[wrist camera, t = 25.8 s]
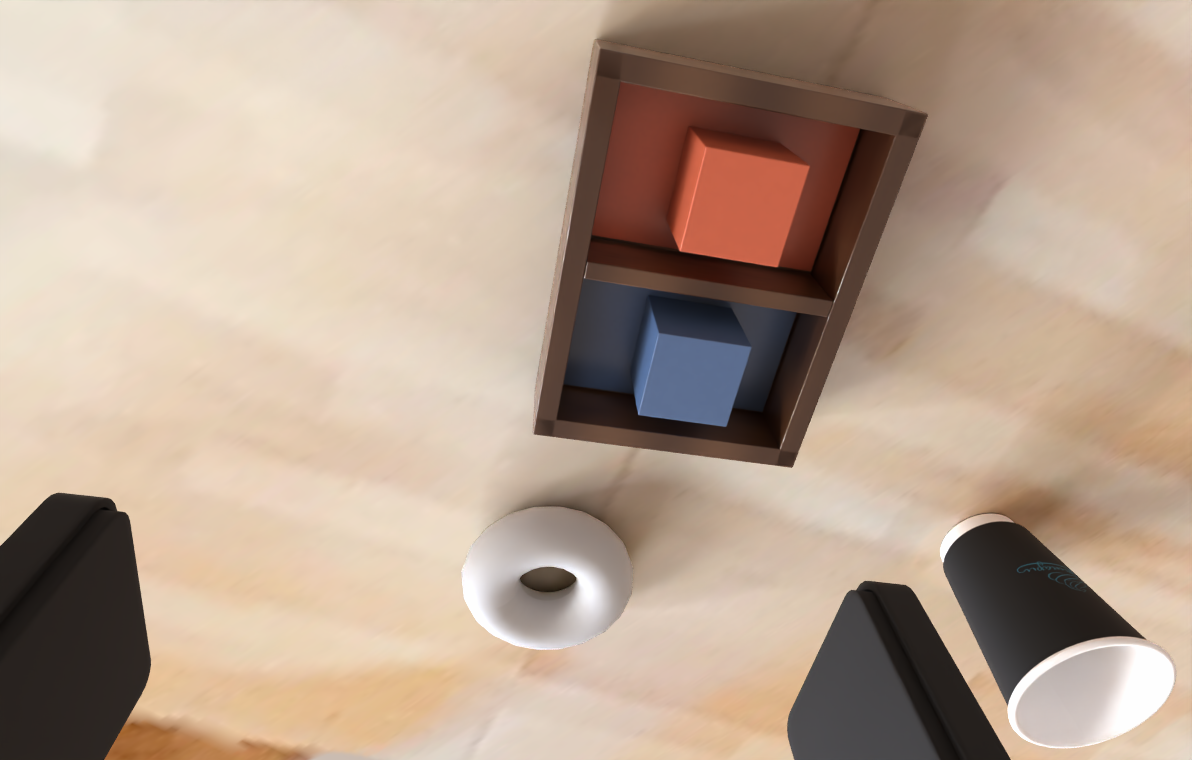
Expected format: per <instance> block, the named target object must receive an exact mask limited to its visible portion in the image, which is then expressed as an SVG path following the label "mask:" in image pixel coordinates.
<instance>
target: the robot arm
mask: <svg viewBox="0 0 1192 760" xmlns="http://www.w3.org/2000/svg"><path fill="white" fill-rule="evenodd" d="M150 667H151V658H150V651H149V645H148V638H147V631H146V625H145V618H144V611H143V605H142V598H141V591H140V585H139V578H138V571H137V565H136V558H135V551H134V545H133V538H132V531H131V525H130V520H129V516H128V515H127V514H126V513H125V512H118V511H117V509H116V506H115V503H114V502H113V501H112V500H111V499H109V498H103V497H93V496H84V495H75V494H66V493H56V494H53V495H51V496H50V497H48V498H47V499H46V500H45V501H44V502H43V503H42V504H41V505H40V506H39V507H38V508H37V509H36V510H35V511H34V512H33V513H32V514H31V515H30V516H29V517H28V518H27V519H26V520H25V521H24V522H23V523H22V524H21V525H20V526H19V527H18V529H17V530H16V531H15V532H14V533H13V534H12V535H11V536H10V537H9V538H8V539H7V540H6V541H5V542H4V543H3V544H2V545H1V546H0V760H104V759H105V757H106V755H107V754H108V752H109V750H110V748H111V747H112V745H113V743H114V741H115V740H116V738H117V736H118V734H119V733H120V731H121V729H122V727H123V726H124V724H125V722H126V721H127V719H128V717H129V715H130V714H131V712H132V710H133V708H134V707H135V705H136V703H137V701H138V700H139V698H140V696H141V694H142V692H143V690H144V688H145V686H146V683H147V681H148V677H149V673H150ZM787 731H788V739H789V743H790V746H791V750H792V753H793V756H794V760H1011V759H1010V758H1009V756H1008V754H1007V752H1006V751H1005V749H1004V747H1003V745H1002V744H1001V742H1000V740H999V738H998V737H997V735H996V733H995V732H994V730H993V728H992V726H991V725H990V723H989V721H988V719H987V718H986V716H985V714H984V712H983V711H982V709H981V707H980V706H979V704H978V702H977V700H976V699H975V697H974V695H973V693H972V692H971V690H970V688H969V687H968V685H967V683H966V681H965V680H964V678H963V676H962V674H961V673H960V671H959V669H958V667H957V666H956V664H955V662H954V661H953V659H952V657H951V655H950V654H949V652H948V650H947V648H946V647H945V645H944V643H943V641H942V640H941V638H940V636H939V635H938V633H937V631H936V629H935V628H934V626H933V624H932V622H931V621H930V619H929V617H928V615H927V614H926V612H925V610H924V609H923V607H922V605H921V603H920V602H919V600H918V598H917V596H916V595H915V593H914V592H913V591H912V589H911V588H909V587H908V586H906V585H900V584H891V583H882V582H873V581H864V582H863V583H861V584H860V585H859V587H858V588H857V590H851V591H849V592H848V593H847V594H846V596H845V598H844V600H843V602H842V604H841V606H840V608H839V610H838V612H837V614H836V617H835V619H834V621H833V623H832V625H831V627H830V629H829V631H828V633H827V636H826V638H825V640H824V642H823V644H822V646H821V648H820V650H819V652H818V654H817V657H816V659H815V661H814V663H813V665H812V667H811V669H810V671H809V673H808V675H807V678H806V680H805V682H804V684H803V686H802V688H801V690H800V692H799V694H798V696H797V699H796V701H795V703H794V705H793V707H792V709H791V711H790V714H789V717H788V726H787Z"/></svg>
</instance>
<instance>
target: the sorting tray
mask: <svg viewBox="0 0 1192 760" xmlns="http://www.w3.org/2000/svg"><path fill="white" fill-rule="evenodd" d="M927 117H928V114H927V113H924V112H921V111H919V110H916V109H914V108H911V107H908V106H906V105H903V104H901V103H898V102H895V101H893V100H890V99H887V98H884V97H879V96H874V95H869V94H864V93H859V92H855V91H850V90H845V89H840V88H835V87H830V86H825V85H820V84H815V83H810V82H805V81H800V80H795V79H790V78H785V77H780V76H775V75H771V74H766V73H761V72H756V71H751V70H746V69H741V68H736V67H731V66H726V65H721V64H716V63H711V62H706V61H701V60H696V59H691V58H687V57H682V56H677V55H672V54H667V53H662V52H657V51H652V50H647V49H642V48H637V47H632V46H627V45H622V44H617V43H612V42H608V41H603V40H598V39H595V40H594V44H593V50H592V55H591V61H590V67H589V73H588V79H587V85H586V91H585V97H584V103H583V109H582V115H581V121H580V126H579V132H578V138H577V144H576V150H575V156H574V162H573V168H572V174H571V180H570V186H569V192H568V197H567V203H566V209H565V215H564V221H563V227H562V233H561V239H560V245H559V251H558V257H557V262H556V268H555V274H554V280H553V286H552V292H551V298H550V304H549V310H548V316H547V322H546V328H545V333H544V339H543V345H542V351H541V357H540V363H539V369H538V375H537V381H536V387H535V399H534V419H533V434H535V435H543V436H550V437H558V438H566V439H574V440H581V441H589V442H597V443H605V444H612V445H620V446H628V447H636V448H643V449H651V450H659V451H667V452H674V453H682V454H690V455H698V456H705V457H713V458H721V459H729V460H737V461H744V462H752V463H760V464H768V465H775V466H783V467H791V468H792V467H793V465H794V462H795V460H796V457H797V454H798V451H799V449H800V446H801V444H802V441H803V438H804V436H805V433H806V431H807V428H808V425H809V423H810V420H811V418H812V415H813V413H814V410H815V407H816V405H817V402H818V400H819V397H820V394H821V392H822V389H823V387H824V384H825V381H826V379H827V376H828V374H829V371H830V368H831V366H832V363H833V361H834V358H835V355H836V353H837V350H838V348H839V345H840V342H841V340H842V337H843V335H844V332H845V329H846V327H847V324H848V322H849V319H850V316H851V314H852V311H853V309H854V306H855V303H856V301H857V298H858V296H859V293H860V290H861V288H862V285H863V283H864V280H865V277H866V275H867V272H868V270H869V267H870V264H871V262H872V259H873V257H874V254H875V251H876V249H877V246H878V244H879V241H880V238H881V236H882V233H883V231H884V228H885V225H886V223H887V220H888V218H889V215H890V212H891V210H892V207H893V205H894V202H895V199H896V197H897V194H898V192H899V189H900V186H901V184H902V181H903V179H904V176H905V173H906V171H907V168H908V166H909V163H910V160H911V158H912V155H913V153H914V150H915V147H916V145H917V142H918V140H919V137H920V135H921V132H922V130H923V127H924V124H925V122H926V119H927ZM689 126H692V127H698V128H703V129H708V130H713V131H719V132H724V133H729V134H735V135H740V136H745V137H750V138H756V139H761V140H766V141H771V142H777V143H781V144H782V145H784V146H785V147H786V148H788V149H789V150H790V151H792V152H793V153H794V154H795V155H797V156H798V157H799V158H801V159H802V160H803V161H805V162H806V163H807V164H809V165H810V169H809V172H808V175H807V179H806V182H805V185H804V188H803V191H802V194H801V197H800V200H799V203H798V206H797V210H796V213H795V216H794V219H793V222H792V225H791V228H790V231H789V234H788V238H787V241H786V244H785V247H784V250H783V253H782V256H781V259H780V262H779V265H778V267H772V266H766V265H760V264H754V263H748V262H742V261H736V260H730V259H724V258H718V257H712V256H706V255H700V254H694V253H688V252H682V251H680V250H679V248H678V245H677V243H676V241H675V239H674V236H673V234H672V232H671V230H670V227H669V225H668V223H667V221H666V219H667V215H668V210H669V206H670V202H671V198H672V193H673V189H674V185H675V181H676V177H677V172H678V168H679V164H680V160H681V156H682V151H683V147H684V143H685V139H686V134H687V130H688V127H689ZM648 295H650V296H657V297H663V298H669V299H676V300H682V301H688V302H695V303H701V304H707V305H714V306H720V307H727V308H732V310H733V311H734V313H735V315H736V317H737V319H738V321H739V323H740V325H741V327H742V329H743V331H744V332H745V334H746V336H747V338H748V340H749V342H750V344H751V346H752V349H751V352H750V355H749V358H748V361H747V364H746V367H745V370H744V374H743V377H742V380H741V383H740V386H739V389H738V392H737V395H736V398H735V401H734V405H733V408H732V411H731V414H730V417H729V420H728V423H727V426H726V427H724V426H717V425H709V424H702V423H695V422H687V421H680V420H672V419H665V418H658V417H650V416H643V415H638V411H637V405H636V400H635V395H634V389H633V384H632V379H631V373H630V369H631V365H632V360H633V356H634V352H635V348H636V344H637V339H638V335H639V331H640V327H641V322H642V318H643V314H644V310H645V306H646V301H647V297H648Z"/></svg>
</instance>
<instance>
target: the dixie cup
mask: <svg viewBox="0 0 1192 760" xmlns="http://www.w3.org/2000/svg"><path fill="white" fill-rule="evenodd" d="M940 554H941V558H942V561H943V568H944V573H945V575H946V577H947V579H948V581H949V584H950V586H951V588H952V590H953V592H954V594H955V596H956V598H957V600H958V602H959V605H960V607H961V609H962V611H963V613H964V615H965V617H966V619H967V621H968V623H969V626H970V628H971V630H972V632H973V634H974V636H975V638H976V640H977V642H978V644H979V647H980V649H981V651H982V653H983V655H984V657H985V659H986V661H987V663H988V665H989V668H990V670H991V672H992V674H993V676H994V678H995V680H996V682H997V684H998V686H999V689H1000V691H1001V693H1002V695H1003V697H1004V699H1005V701H1006V703H1007V705H1008V717H1009V721H1010V723H1011V726H1012V727H1013V729H1014V730H1015V731H1016V732H1017V733H1018V734H1019V735H1020V736H1021V737H1022V738H1024V739H1025V740H1027V741H1029V742H1031V743H1034V744H1037V745H1041V746H1045V747H1051V748H1075V747H1083V746H1088V745H1093V744H1097V743H1100V742H1104V741H1107V740H1109V739H1112V738H1115V737H1117V736H1119V735H1122V734H1124V733H1126V732H1128V731H1130V730H1132V729H1133V728H1135V727H1137V726H1138V725H1140V724H1141V723H1143V722H1144V721H1146V720H1147V719H1148V718H1150V717H1151V716H1152V715H1153V714H1154V713H1155V712H1156V711H1157V710H1158V709H1159V708H1160V707H1161V706H1162V705H1163V704H1164V703H1165V701H1166V700H1167V699H1168V697H1169V696H1170V694H1171V692H1172V690H1173V687H1174V684H1175V681H1176V667H1175V664H1174V661H1173V659H1172V657H1171V656H1170V654H1169V653H1168V652H1167V651H1166V650H1165V649H1163V648H1162V647H1161V646H1159V645H1157V644H1155V643H1153V642H1151V641H1148V640H1146V639H1145V638H1144V637H1143V636H1142V635H1141V634H1140V633H1138V632H1137V631H1136V630H1135V629H1134V628H1133V627H1132V626H1131V625H1130V624H1129V623H1128V622H1127V621H1126V620H1124V619H1123V618H1122V617H1121V616H1120V615H1119V614H1118V613H1117V612H1116V611H1115V610H1114V609H1113V608H1111V607H1110V606H1109V605H1108V604H1107V603H1106V602H1105V601H1104V600H1103V599H1102V598H1101V597H1100V596H1098V595H1097V594H1096V593H1095V592H1094V591H1093V590H1092V589H1091V588H1090V587H1089V586H1088V585H1087V584H1085V583H1084V582H1083V581H1082V580H1081V579H1080V578H1079V577H1078V576H1077V575H1076V574H1075V573H1074V572H1072V571H1071V570H1070V569H1069V568H1068V567H1067V566H1066V565H1065V564H1064V563H1063V562H1062V561H1061V560H1060V559H1058V558H1057V557H1056V556H1055V555H1054V554H1053V553H1052V552H1051V551H1050V550H1049V549H1048V548H1047V547H1045V546H1044V545H1043V544H1042V543H1041V542H1040V541H1039V540H1038V539H1037V538H1036V537H1035V536H1034V535H1032V534H1031V533H1030V532H1029V531H1028V530H1027V529H1026V528H1024V527H1023V526H1021V525H1019V524H1016V523H1014V522H1013V521H1012V520H1011V519H1009V518H1008V517H1006V516H1003V515H1000V514H981V515H977V516H973V517H971V518H968V519H966V520H964V521H962V522H961V523H959V524H958V525H956V526H955V527H954V528H953V529H951V530H950V532H949V533H948V534H947V535H946V537H945V538H944V540H943V542H942V545H941V549H940Z"/></svg>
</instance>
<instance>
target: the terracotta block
mask: <svg viewBox="0 0 1192 760" xmlns="http://www.w3.org/2000/svg"><path fill="white" fill-rule="evenodd" d="M809 169H810V165H809V164H807V163H806V162H805V161H803V160H802V159H801V158H799V157H798V156H797V155H795V154H794V153H793V152H792V151H790V150H789V149H788V148H786V147H785V146H784V145H782V144H781V143H777V142H771V141H766V140H761V139H756V138H750V137H745V136H740V135H735V134H729V133H724V132H719V131H713V130H708V129H703V128H698V127H692V126H689V127H688V130H687V134H686V139H685V143H684V147H683V151H682V156H681V160H680V164H679V168H678V172H677V177H676V181H675V185H674V189H673V193H672V198H671V202H670V206H669V210H668V215H667V219H666V221H667V223H668V225H669V227H670V230H671V232H672V234H673V236H674V239H675V241H676V243H677V245H678V248H679V250H680V251H682V252H688V253H694V254H700V255H706V256H712V257H718V258H724V259H730V260H736V261H742V262H748V263H754V264H760V265H766V266H772V267H778V265H779V262H780V259H781V256H782V253H783V250H784V247H785V244H786V241H787V238H788V234H789V231H790V228H791V225H792V222H793V219H794V216H795V213H796V210H797V206H798V203H799V200H800V197H801V194H802V191H803V188H804V185H805V182H806V179H807V175H808V172H809Z"/></svg>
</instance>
